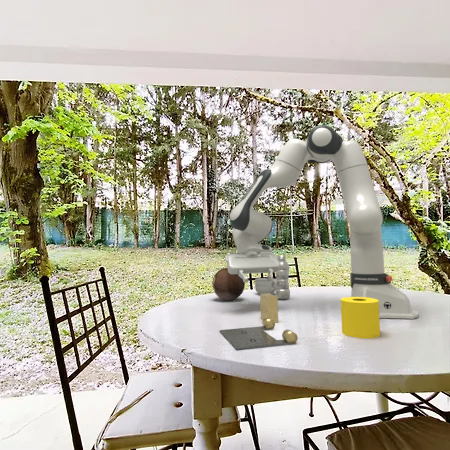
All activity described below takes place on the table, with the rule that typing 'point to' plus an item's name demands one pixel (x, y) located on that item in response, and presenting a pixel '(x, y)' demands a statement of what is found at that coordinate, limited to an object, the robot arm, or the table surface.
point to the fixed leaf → (257, 336)
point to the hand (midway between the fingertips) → (258, 280)
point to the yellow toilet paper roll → (360, 317)
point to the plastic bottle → (282, 279)
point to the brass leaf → (269, 307)
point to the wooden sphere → (227, 285)
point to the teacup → (265, 286)
